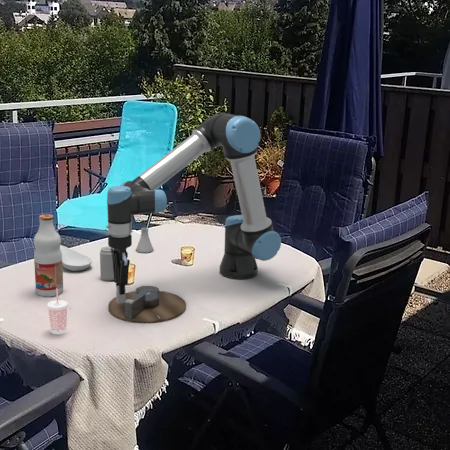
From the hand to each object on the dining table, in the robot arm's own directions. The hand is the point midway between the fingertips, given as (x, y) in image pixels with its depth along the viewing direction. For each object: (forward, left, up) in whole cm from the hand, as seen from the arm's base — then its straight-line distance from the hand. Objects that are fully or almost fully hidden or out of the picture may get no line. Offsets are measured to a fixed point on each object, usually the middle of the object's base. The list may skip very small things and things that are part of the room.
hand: (121, 302), depth 210 cm
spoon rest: (+8, -50, -3) cm, 51 cm away
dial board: (-9, +1, -3) cm, 9 cm away
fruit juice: (+19, -24, -3) cm, 31 cm away
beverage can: (-4, -30, -3) cm, 30 cm away
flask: (-27, -58, -3) cm, 64 cm away
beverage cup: (+22, +9, -3) cm, 24 cm away
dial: (-6, +4, -1) cm, 7 cm away
